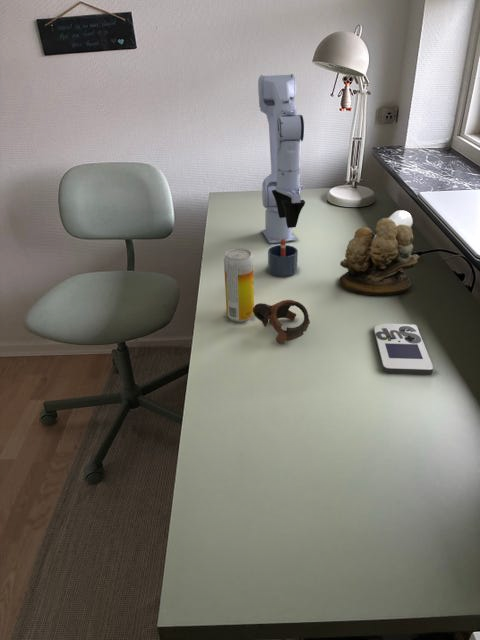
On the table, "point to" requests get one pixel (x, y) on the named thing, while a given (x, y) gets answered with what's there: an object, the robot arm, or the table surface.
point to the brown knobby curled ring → (282, 311)
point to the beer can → (239, 284)
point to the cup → (282, 261)
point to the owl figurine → (379, 260)
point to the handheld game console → (402, 349)
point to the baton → (283, 247)
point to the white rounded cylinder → (401, 218)
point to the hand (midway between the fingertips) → (287, 222)
